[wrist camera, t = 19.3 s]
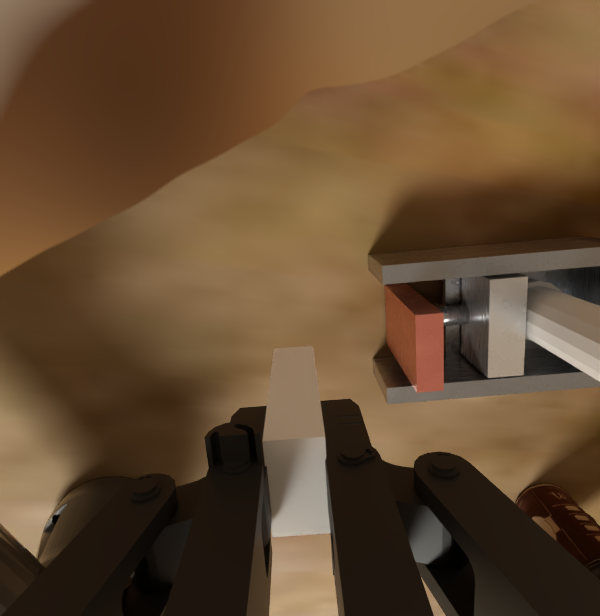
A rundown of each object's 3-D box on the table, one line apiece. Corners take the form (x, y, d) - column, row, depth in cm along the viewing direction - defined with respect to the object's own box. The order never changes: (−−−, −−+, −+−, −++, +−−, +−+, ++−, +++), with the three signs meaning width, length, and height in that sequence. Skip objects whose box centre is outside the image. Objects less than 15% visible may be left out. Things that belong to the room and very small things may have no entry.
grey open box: (373, 372, 44) (387, 404, 37) (367, 254, 41) (382, 265, 34) (571, 355, 44) (621, 384, 37) (580, 236, 41) (636, 243, 34)
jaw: (387, 355, 43) (417, 407, 33) (384, 272, 41) (415, 299, 30) (487, 347, 43) (550, 396, 32) (489, 263, 41) (557, 286, 30)
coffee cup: (511, 548, 50) (585, 668, 37) (492, 490, 48) (562, 596, 35) (586, 524, 49) (687, 638, 36) (570, 464, 47) (670, 562, 34)
